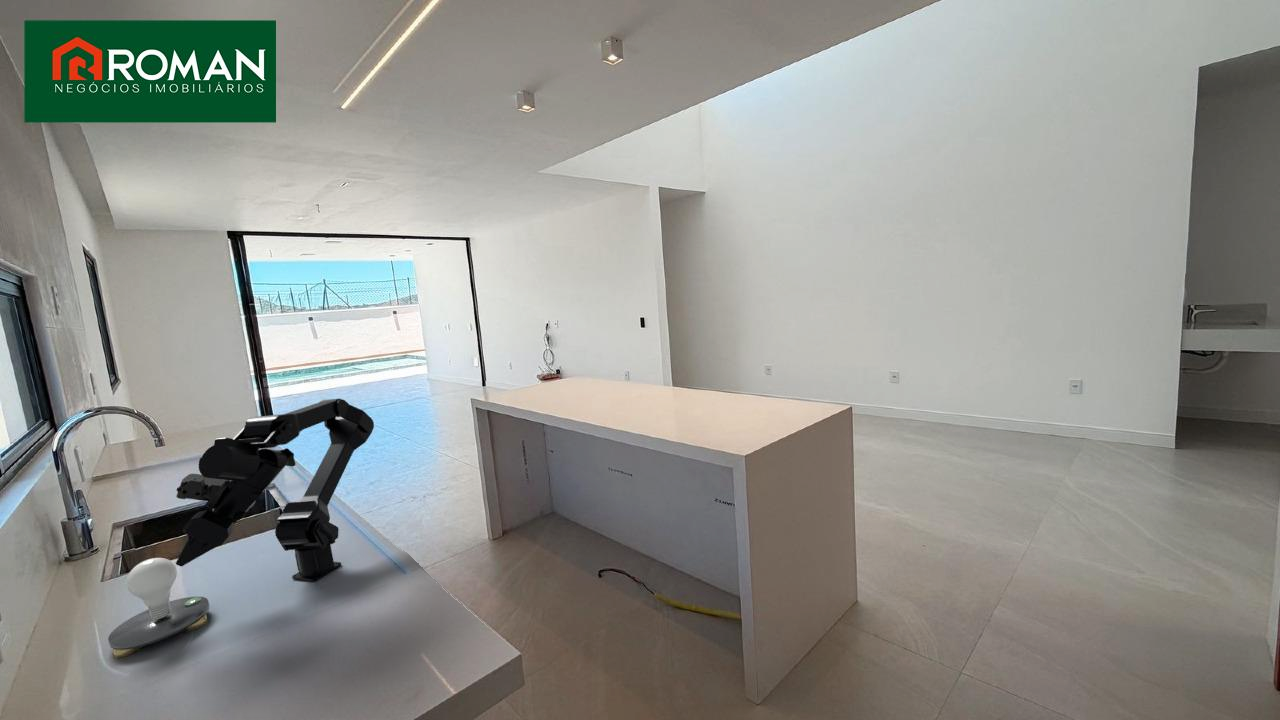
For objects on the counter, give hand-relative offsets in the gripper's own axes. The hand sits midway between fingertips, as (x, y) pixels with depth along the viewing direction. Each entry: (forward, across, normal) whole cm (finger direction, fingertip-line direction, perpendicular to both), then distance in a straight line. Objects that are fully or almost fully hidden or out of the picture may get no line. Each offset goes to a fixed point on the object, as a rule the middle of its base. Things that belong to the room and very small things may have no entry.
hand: (188, 553), depth 91 cm
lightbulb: (+11, 0, +4) cm, 12 cm away
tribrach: (+13, 0, +5) cm, 14 cm away
